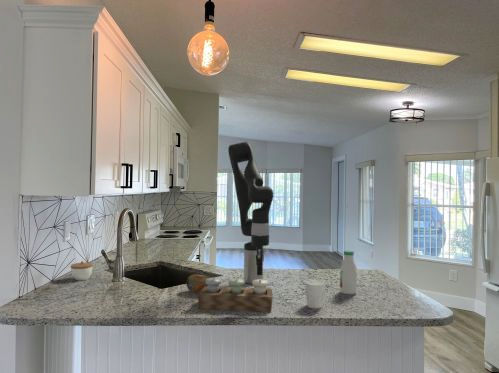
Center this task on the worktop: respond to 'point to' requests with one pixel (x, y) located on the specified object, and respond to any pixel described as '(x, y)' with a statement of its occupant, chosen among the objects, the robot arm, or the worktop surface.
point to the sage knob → (236, 285)
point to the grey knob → (213, 285)
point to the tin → (196, 283)
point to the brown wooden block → (235, 300)
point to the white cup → (315, 293)
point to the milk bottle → (348, 274)
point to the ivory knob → (260, 286)
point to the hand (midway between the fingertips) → (259, 274)
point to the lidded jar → (81, 270)
